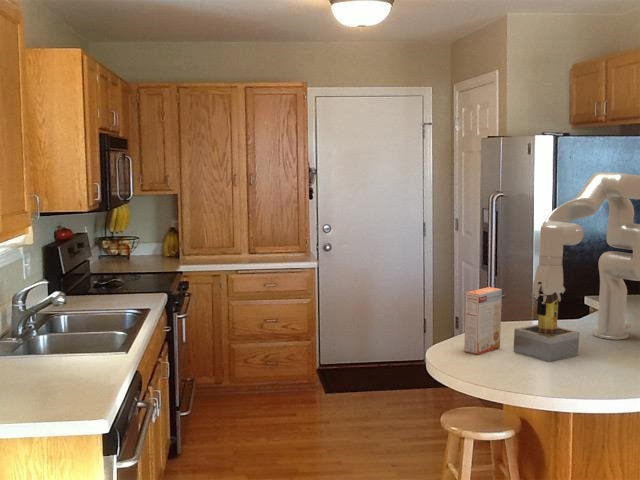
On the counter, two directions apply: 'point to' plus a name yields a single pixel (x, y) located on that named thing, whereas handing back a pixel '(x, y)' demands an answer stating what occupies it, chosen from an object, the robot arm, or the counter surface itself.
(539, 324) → the sauce bottle
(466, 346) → the cracker box
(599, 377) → the counter surface
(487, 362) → the counter surface
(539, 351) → the grey square tray
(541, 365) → the counter surface
